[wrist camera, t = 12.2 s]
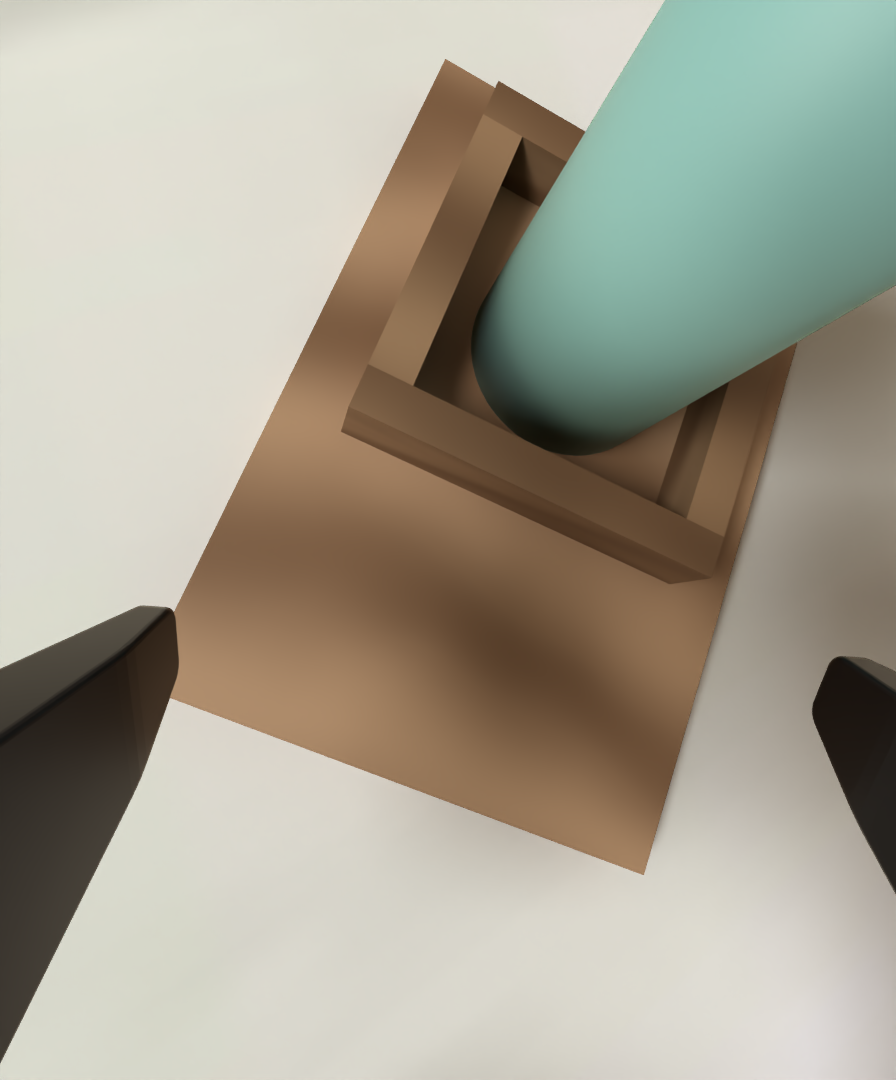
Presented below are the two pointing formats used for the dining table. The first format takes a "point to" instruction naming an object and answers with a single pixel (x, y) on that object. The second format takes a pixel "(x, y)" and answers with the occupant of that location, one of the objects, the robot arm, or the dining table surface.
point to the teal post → (700, 219)
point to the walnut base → (470, 528)
